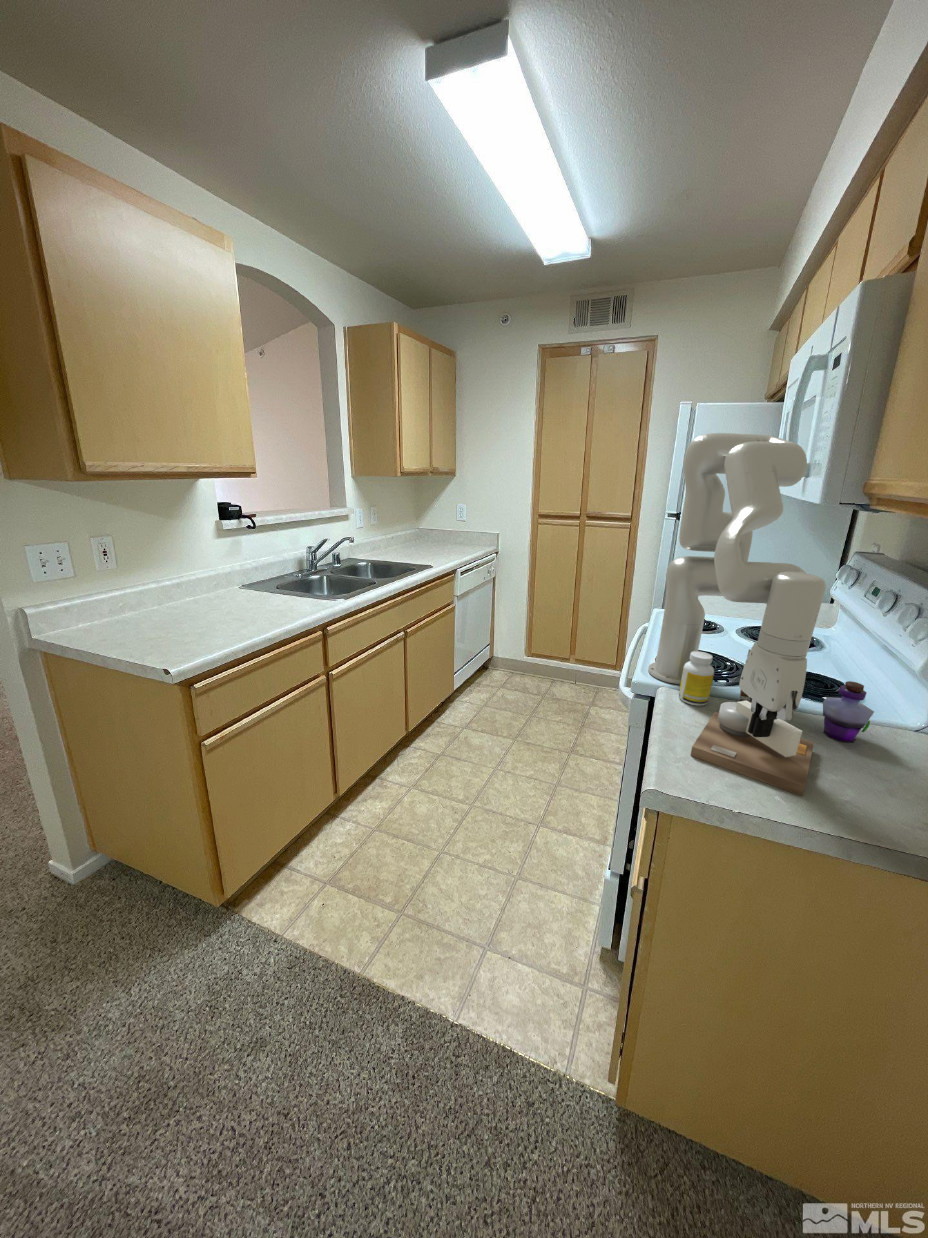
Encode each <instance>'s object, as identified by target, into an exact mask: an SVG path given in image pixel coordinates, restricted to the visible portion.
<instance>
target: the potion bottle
mask: <svg viewBox="0 0 928 1238" xmlns="http://www.w3.org/2000/svg"><path fill="white" fill-rule="evenodd" d="M864 689H865V685H863V684H862V683H860V682H856V681H852V680H851V681H850V680H849V681H845V684H843V685H841V686H840V687H839V690H838V695H840V696H841V697H831V696H830V697H829V696H827V697H826V698H825V699H824V700H822V716H823V717H824V718H823V720H824V721H823V722H824V723H823V725H824V726H823V727H824V728H823V732H822V733H823V734H824V735H825V736H826V737H828V738H829V739H832V740H835V741H838V742H840V743H847V744H854V742H855V741H856V737H857V736H858V734H859V733H860V732H861V733H865V732H866V731H867V730H868V729H869V727H870V725H871V721H870V719H871V717H872V716H873V714H874V713H875V710H872V709H871V708H869V706H866V705H865V704H863V703H861V702H860V701H864V700H865V698H866V697H867V692H866V691H865V690H864Z"/></svg>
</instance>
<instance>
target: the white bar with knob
mask: <svg viewBox="0 0 928 1238" xmlns="http://www.w3.org/2000/svg"><path fill="white" fill-rule="evenodd" d="M718 713H719V715H718V721H719V723H721V724H722V725H723V726H725V727H727V728H729V729H732V730H735V731H739V732H746V733H747V734H749V735H751V736H752V737H754V736H753V735H752V734H750V733H749V732H748V728H749V724H750V721H751V717H752V714H753V713H752V712H751V703H750V702H749V701H747V700H746V701H740V702H739V701H737V702H736V701H725V702H722V703H721V704H720V706H719V711H718ZM802 734H803V730H801V729H800V728H798V727H796V726H795V725H793V724H790V723H789V722H787V721H786V720H781V719H777V720H774V723H773V726H772V730H771V733H770V736H769V737H754V738H756V739H757V740H759V741H760V742H762V743H764V744H765V745H767V746H769V747H770V748H772V749H773V750H775V751H777V752H778V753H780V754H781V755H783V756H785V757H789V756H794V755H796V752H797V749H798V745H799V742H800V738H801V737H802Z"/></svg>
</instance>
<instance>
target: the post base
mask: <svg viewBox="0 0 928 1238" xmlns="http://www.w3.org/2000/svg"><path fill="white" fill-rule="evenodd" d="M718 715H719V712H717V711H714V712H713V714H712V716H710V718H709V720H708V722H707V723H706V725H705V727H703V729H702V730H701V733H700V734H699V735H698V737H697V738H696V740H695V742H694V743H693V744H692V747H691V752H690V756H691V757H693V758H696V759H699V760H702V761H704V762H708V763H710V764H713V765H716V766H718V767H721V768H724V769H727V770H730V771H732V772H735V773H737V774H740V775H743V776H746V777H748V778H751V779H755V780H756V781H760V782H762V783H765V784H768V785H770V786H773V787H776V788H778V789H782V790H785V791H788V792H789V793H793V794H795V795H799V796H801V797H803V794H804V790H805V788H806V784H807V777H808V774H809V769H810V764H811V759H812V753H813V749H814V744H815V741H812V740H809V739H805V738H800V742H799V745H798V749H797V752H796V755H794V756H789V757H785V756H783V755H781V754H780V753H778V752H777V751H775V750H773V749H772V748H770V747H769V746H767V745H765V744H764V743H762V742H760V741H759V740H757V739H756V738H754V737H752V736H751V735H749V734H747V733H746V732H739V731H735V730H732V729H729V728H727V727H725V726H723V725H722V724H721V723H719V721H718Z"/></svg>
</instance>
